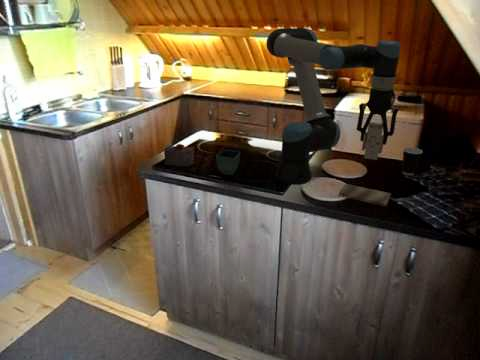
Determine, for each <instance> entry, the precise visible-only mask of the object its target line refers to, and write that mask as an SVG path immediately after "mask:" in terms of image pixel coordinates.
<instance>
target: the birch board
mask: <svg viewBox="0 0 480 360" xmlns="http://www.w3.org/2000/svg"><path fill="white" fill-rule="evenodd" d="M338 195H342V196H345V197H344V198H346V197H347V199H352V200H356V201H360V202H365V203H367V204H368V203H369V204H373V205H378V206H382V207H387V206H388V204H389V201H390V198H391V196H392V193H391V192H385V191H382V190H381V191H380V190H378V189H372V188H367V187H362V186H358V185H353V184H349V183H345V184H344V185H343V186H342V188H341V189H340V191H339V192H338ZM342 196H341V197H342Z"/></svg>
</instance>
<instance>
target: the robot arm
mask: <svg viewBox="0 0 480 360" xmlns="http://www.w3.org/2000/svg"><path fill="white" fill-rule="evenodd" d="M265 44H266V49H267V51H268V53H269V54H270V55H272V57H277V58H279V59H280V58H281V59H285V58H287V61H288V64H289V65H291V66H293V70H294V75H295V77H296V82H297V86H298V90H299V94H300V98H301V103H302V105H303V110H304V114H305V118H306V119H305V120H304V121H294V122H290V123H288V124H286V125H285V126H284V127H283V131H282V136H281V139H282V141H281V142H282V143H281V155H280V156H281V157H280V162H279V165H278V166H277V169H276V172H275V173H276V174H275V176H276V177H275V178H277V180H279V181H280V182H282V183H284V184H285V183H286V184H290V185H302V184H303V185H304V184H306V182H307V183H308V181H309V182H310V181H311V180H312V170H311V166H310V162H309V161H310V153H314V152H320V151H324V150H329V149H332V148H334V147H335V146H337V144H338V143H339V141H340V138H341V127H340V125H339V124H338V123H337V122H336V121H334V120H333V119H332V116H331V115H330V114H329V113H327V112H326V111H327V110H326V108H325V103H324V100H323V96H322V95H323V94H322V92H321V89H320V88H321V87H320V84H319V79H318V77H317V72H316V69H315V65H318V66H321V68H322V69H323V70H324V71H336V70H345V69H355V68H356V69H357V68H359V69H360V68H366V69H371V70H372V78H371V83H370V87H371V88H370V90H369V96H368V101H367V102H365V103H363V102H361V103H360V104H359V105H358V108H359V115H358V120H357V123H356V131H357V132H360V140H359V141H360V142H362V146H361V151H363V152H365V148H366V140H367V133H368V131H367V130H368V126H369V123H370V122H372V119H373V117H374V116H375V115H377V116H380V119H381V121H382V120H383V128H382V135H381V142H380V147H379V153H378V155H380V154H382V152H383V148H384V146H386V144H387V143H388V137H390V136H391V137H392V136H394V133H395V127H396V121H397V115H398V112H399V111H400V108H399V107H396V106H394V105H393V103H392V99H393V93H394V90H393V89H394V88H395V87H394V86H395V81H396V78H397V77H396V75H397V74H396V73H397V68H398V65H399V59H400V56H401V55H400V54H401V53H400V52H401V43H400V42H398V41H394V40H379V41H378V42H377V44H376V46H373V45H368V44H367V45H366V44H362V43H361V44H357V43H356V44H353V45H345V46H344V45H343V46H342V45H341V46H340V45H335V44H328V43H323V42H320V41H318V37H317V35H316V33H315V32H314V31H313V30H312V29H311V28H307V27H294V28H293V27H292V28H290V27H287V28H284V27H283V28H277V29H274V30H272V32H271V33H269V34H268V36H267V38H266V43H265ZM366 108H368V110H369V113H368V116H367V118H366V120H365V122H364V116H365V111H366ZM390 110H391V111H390ZM389 111H390V112H391V114H392V115H391V120H390V125H389V126H390V127H389V126H388V119H387V113H388V112H389ZM363 122H364V125H363ZM388 127H389V128H388Z"/></svg>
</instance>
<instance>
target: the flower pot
mask: <svg viewBox="0 0 480 360" xmlns="http://www.w3.org/2000/svg"><path fill="white" fill-rule="evenodd" d="M240 158H241V151H238V150H227V149H221V150H220V151H219V152H218V153H217V154H216V156H215V160H216V165H217V169H218V171H219V172H220V173H221V175H226V176H233V175H234V174H235V172H236V171H237V170H238V167H239V164H240Z"/></svg>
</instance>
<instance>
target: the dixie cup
mask: <svg viewBox="0 0 480 360" xmlns="http://www.w3.org/2000/svg"><path fill="white" fill-rule="evenodd" d="M402 151H403V152H402V153H403V154H402V167H401V171H402V175H405V176H414V175H415V173H416V170H417V167H418V164H419V162H420V159H421V157H422V154H423V149H420V148H417V147H408V146H406V147H403V149H402Z"/></svg>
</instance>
